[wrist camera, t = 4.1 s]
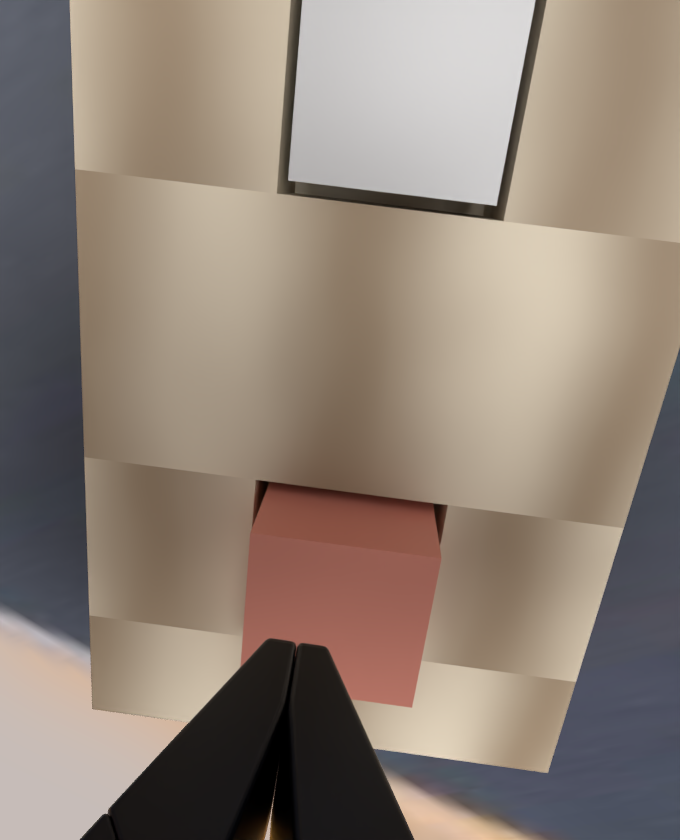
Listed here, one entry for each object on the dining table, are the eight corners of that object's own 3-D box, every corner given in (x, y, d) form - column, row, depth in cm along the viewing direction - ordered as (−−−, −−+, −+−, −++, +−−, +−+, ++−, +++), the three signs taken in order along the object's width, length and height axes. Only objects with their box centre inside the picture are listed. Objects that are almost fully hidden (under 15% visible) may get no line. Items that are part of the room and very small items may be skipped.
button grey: (508, 7, 15) (543, -45, 12) (474, 202, 16) (496, 206, 13) (324, -15, 15) (307, -72, 12) (306, 182, 17) (288, 180, 13)
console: (743, -150, 14) (871, -270, 11) (520, 676, 23) (547, 772, 19) (141, -216, 15) (58, -354, 11) (139, 624, 23) (92, 709, 19)
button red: (430, 489, 18) (441, 558, 14) (407, 618, 19) (412, 707, 16) (274, 469, 18) (250, 532, 14) (264, 599, 19) (239, 683, 16)
